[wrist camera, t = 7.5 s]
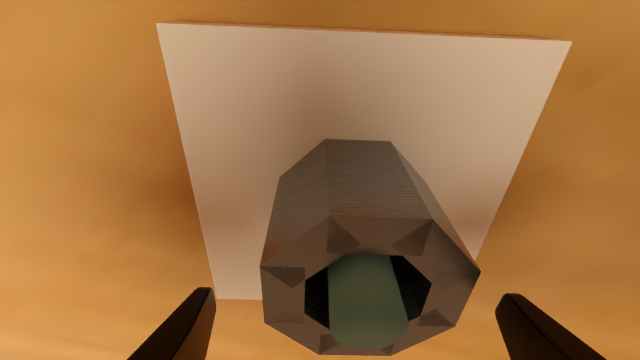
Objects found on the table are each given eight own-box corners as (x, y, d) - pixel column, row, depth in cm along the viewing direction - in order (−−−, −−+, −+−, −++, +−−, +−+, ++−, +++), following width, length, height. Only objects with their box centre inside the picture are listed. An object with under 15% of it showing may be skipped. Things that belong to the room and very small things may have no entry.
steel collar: (436, 142, 12) (505, 221, 7) (405, 256, 15) (440, 356, 11) (278, 136, 12) (254, 213, 7) (281, 253, 15) (267, 353, 10)
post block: (542, 37, 11) (854, 77, 5) (446, 282, 18) (516, 432, 12) (174, 21, 11) (-39, 40, 4) (224, 278, 18) (171, 429, 11)
